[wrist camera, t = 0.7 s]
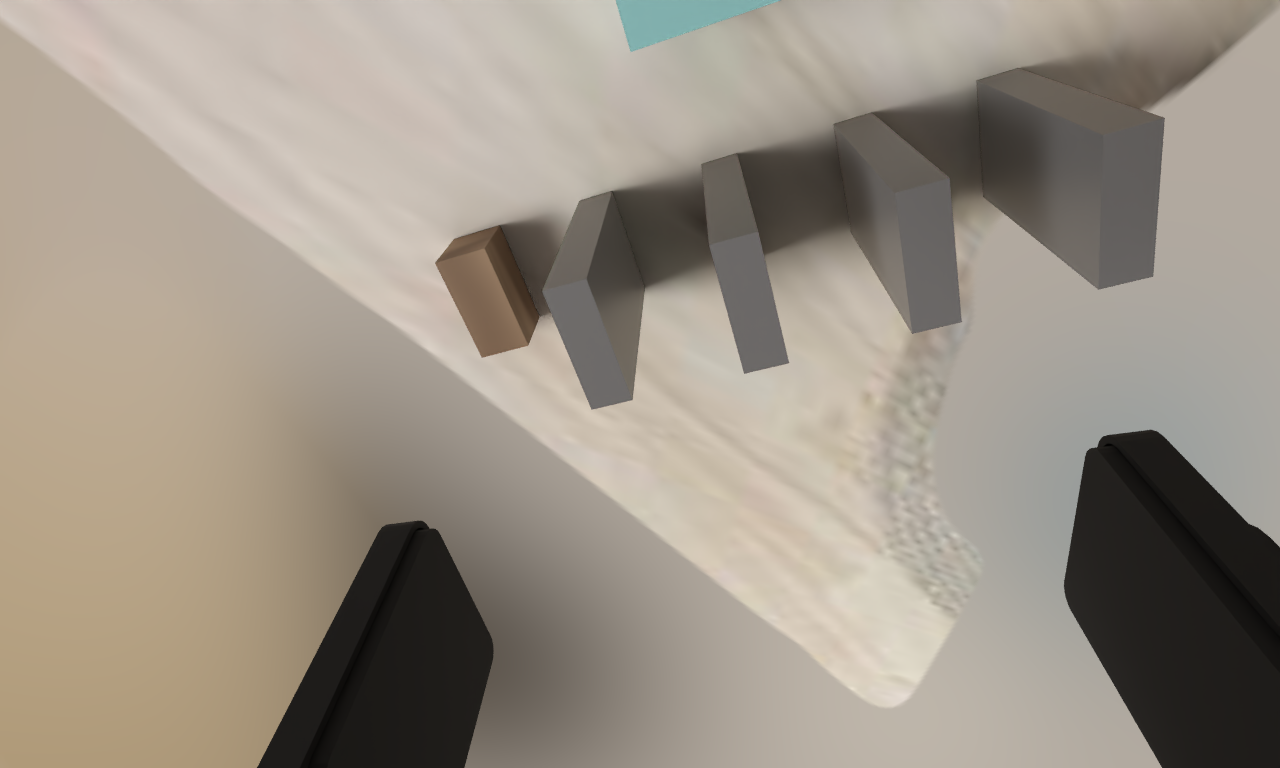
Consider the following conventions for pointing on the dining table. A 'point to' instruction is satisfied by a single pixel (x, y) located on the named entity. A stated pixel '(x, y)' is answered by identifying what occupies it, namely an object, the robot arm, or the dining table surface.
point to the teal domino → (675, 17)
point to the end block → (489, 291)
